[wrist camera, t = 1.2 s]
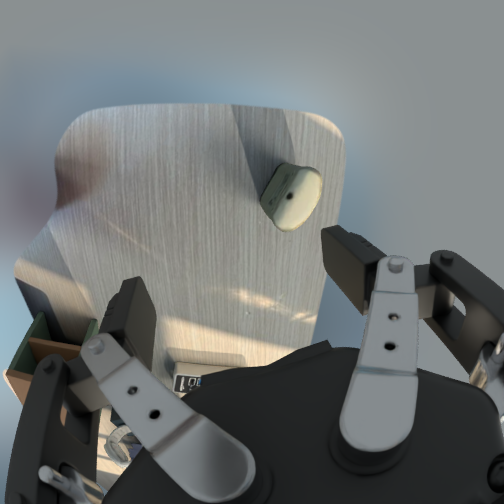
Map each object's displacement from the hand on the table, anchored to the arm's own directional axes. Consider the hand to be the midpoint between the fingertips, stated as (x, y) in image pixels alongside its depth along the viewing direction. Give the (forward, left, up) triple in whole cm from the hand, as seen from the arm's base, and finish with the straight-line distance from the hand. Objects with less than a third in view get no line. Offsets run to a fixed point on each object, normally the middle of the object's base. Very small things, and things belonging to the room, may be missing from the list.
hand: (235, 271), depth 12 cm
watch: (+20, -35, -18) cm, 45 cm away
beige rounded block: (+4, +6, -18) cm, 20 cm away
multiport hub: (+21, -17, -18) cm, 33 cm away
